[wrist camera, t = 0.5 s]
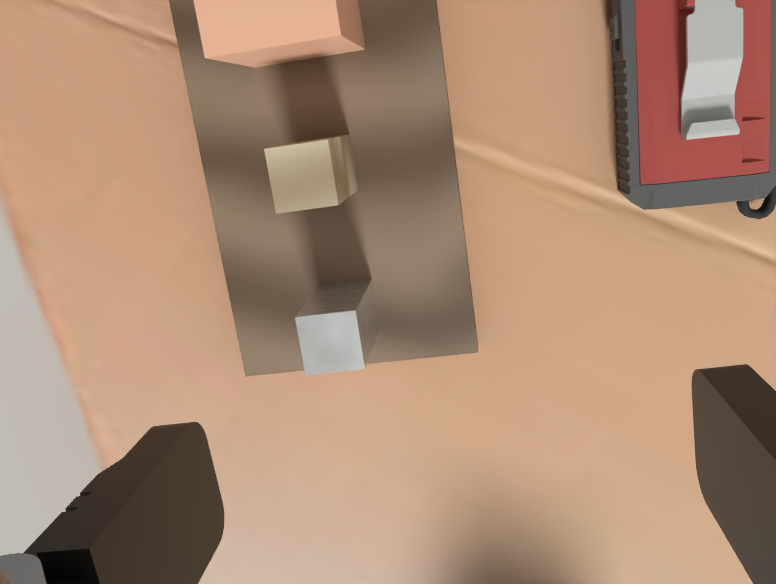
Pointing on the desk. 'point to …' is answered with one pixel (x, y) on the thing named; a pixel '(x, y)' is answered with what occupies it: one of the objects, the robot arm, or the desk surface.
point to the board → (365, 221)
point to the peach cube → (277, 30)
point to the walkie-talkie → (695, 102)
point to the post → (338, 327)
